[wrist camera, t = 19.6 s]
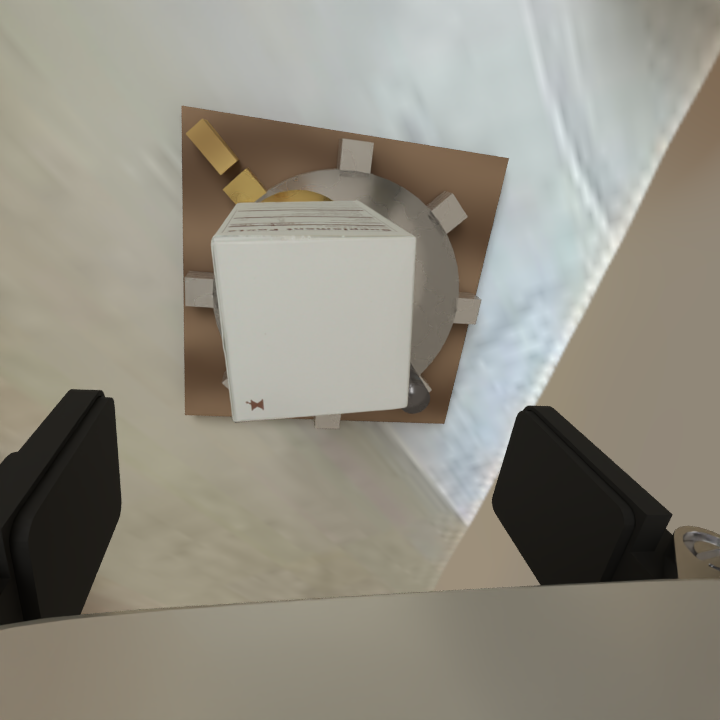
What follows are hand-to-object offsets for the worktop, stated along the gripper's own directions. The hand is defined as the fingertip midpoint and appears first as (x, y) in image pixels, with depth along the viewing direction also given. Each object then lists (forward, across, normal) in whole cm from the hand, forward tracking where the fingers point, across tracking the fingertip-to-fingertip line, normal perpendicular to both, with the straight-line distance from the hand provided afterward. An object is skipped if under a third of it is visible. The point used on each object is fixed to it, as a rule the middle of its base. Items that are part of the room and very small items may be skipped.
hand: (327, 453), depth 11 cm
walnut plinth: (+23, -4, +2) cm, 24 cm away
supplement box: (+20, -1, 0) cm, 20 cm away
